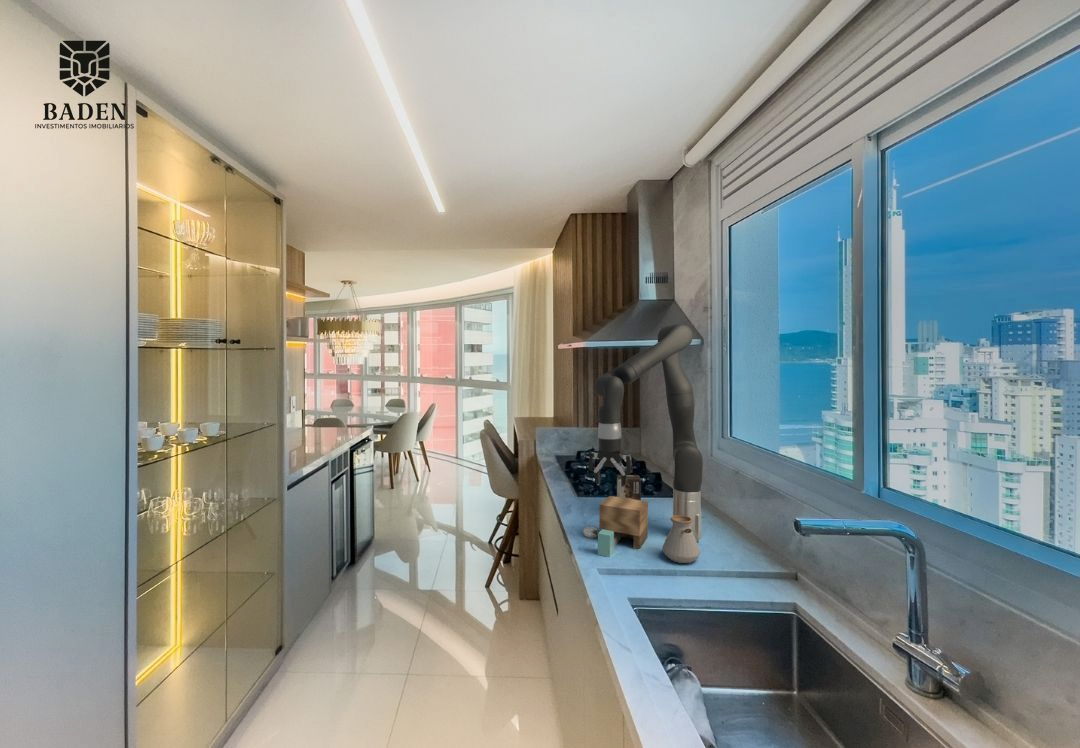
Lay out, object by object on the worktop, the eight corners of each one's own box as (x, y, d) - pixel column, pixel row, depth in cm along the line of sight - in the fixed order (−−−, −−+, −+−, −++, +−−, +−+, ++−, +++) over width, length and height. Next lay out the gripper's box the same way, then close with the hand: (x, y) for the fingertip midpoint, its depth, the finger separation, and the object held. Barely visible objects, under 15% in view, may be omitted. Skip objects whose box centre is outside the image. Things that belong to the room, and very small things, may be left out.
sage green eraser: (624, 538, 159) (624, 519, 159) (609, 557, 144) (609, 535, 144) (613, 536, 161) (613, 517, 161) (597, 554, 146) (598, 533, 146)
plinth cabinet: (647, 537, 160) (647, 501, 159) (639, 549, 150) (639, 510, 150) (609, 530, 166) (609, 495, 166) (599, 541, 156) (599, 504, 156)
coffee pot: (660, 549, 150) (660, 504, 150) (696, 552, 148) (697, 506, 148) (668, 581, 129) (669, 529, 129) (711, 584, 127) (712, 531, 127)
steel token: (599, 535, 163) (599, 528, 163) (594, 539, 159) (594, 533, 158) (586, 532, 165) (586, 525, 165) (581, 537, 161) (581, 530, 161)
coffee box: (639, 514, 184) (639, 474, 183) (641, 519, 178) (641, 479, 177) (616, 513, 185) (616, 474, 184) (617, 519, 179) (618, 478, 178)
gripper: (633, 435, 150) (634, 484, 151) (592, 433, 156) (593, 480, 157) (628, 439, 143) (628, 490, 144) (585, 436, 150) (586, 485, 150)
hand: (610, 484), depth 150 cm, fingers open, 8 cm apart
